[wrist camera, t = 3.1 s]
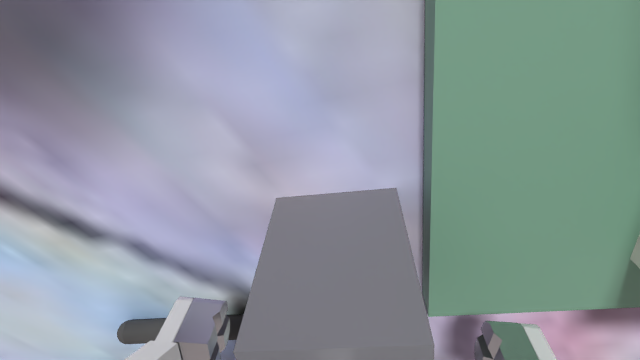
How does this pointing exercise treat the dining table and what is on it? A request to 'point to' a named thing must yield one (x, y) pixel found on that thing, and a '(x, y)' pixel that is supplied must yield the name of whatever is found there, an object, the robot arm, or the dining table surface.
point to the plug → (336, 283)
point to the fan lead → (151, 327)
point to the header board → (531, 156)
